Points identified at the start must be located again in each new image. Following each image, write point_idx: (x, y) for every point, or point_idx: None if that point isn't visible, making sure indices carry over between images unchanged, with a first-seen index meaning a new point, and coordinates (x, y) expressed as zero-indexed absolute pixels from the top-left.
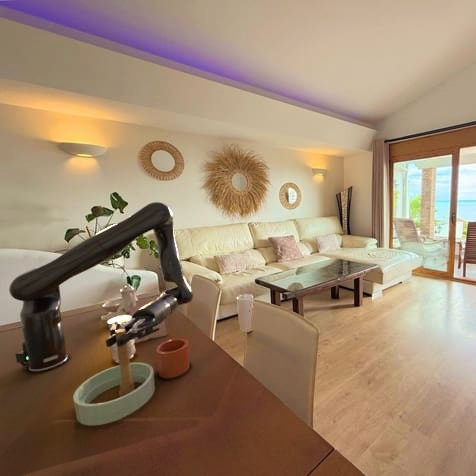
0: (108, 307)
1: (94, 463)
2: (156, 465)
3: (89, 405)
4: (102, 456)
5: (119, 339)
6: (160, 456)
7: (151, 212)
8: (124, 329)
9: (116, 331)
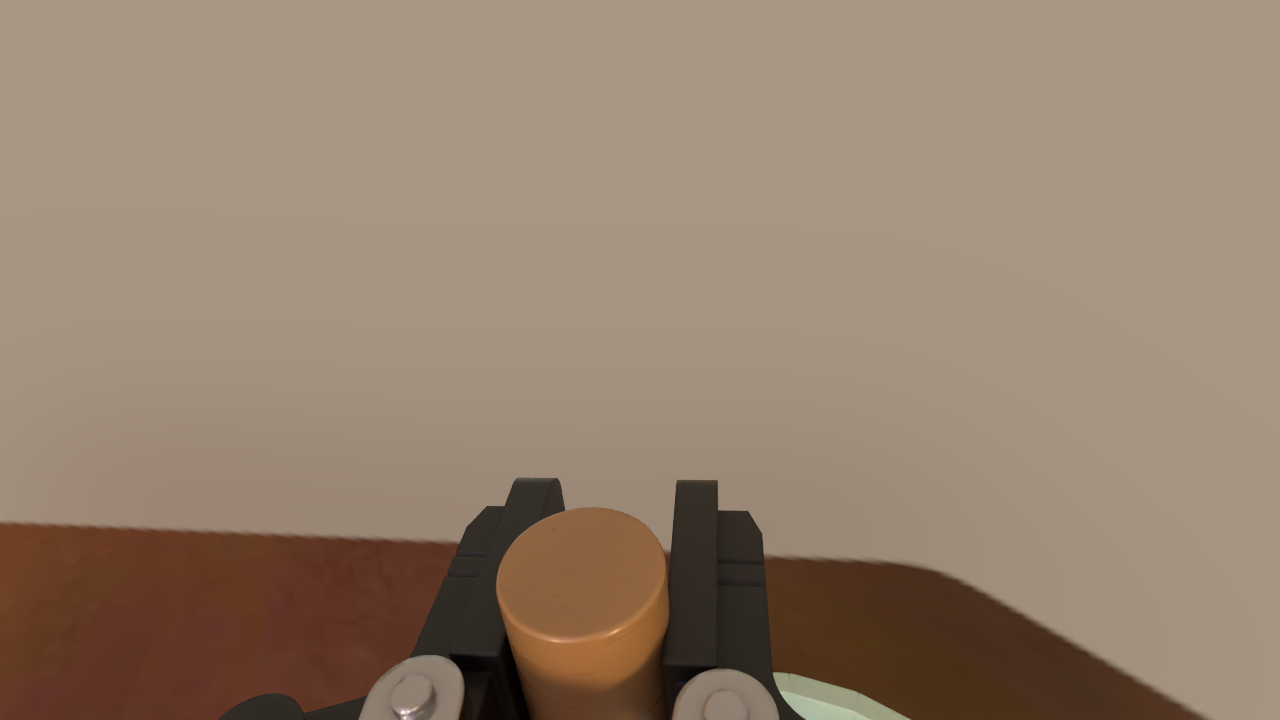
0: None
1: None
2: (365, 555)
3: None
4: None
5: (524, 478)
6: (353, 584)
7: None
8: (518, 605)
9: (638, 540)
